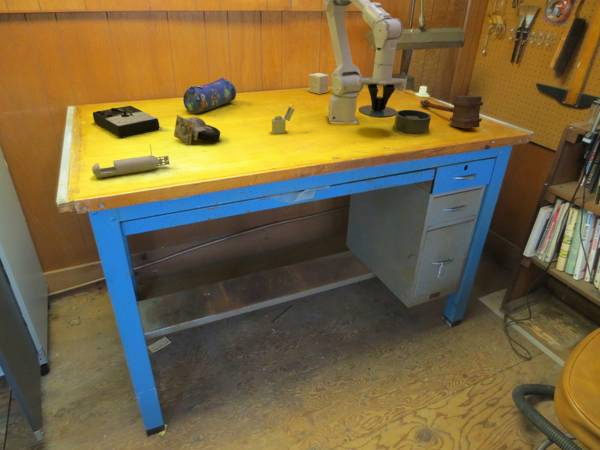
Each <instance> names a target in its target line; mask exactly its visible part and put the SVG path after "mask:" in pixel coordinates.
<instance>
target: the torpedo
mask: <svg viewBox="0 0 600 450" xmlns="http://www.w3.org/2000/svg"><path fill="white" fill-rule="evenodd" d="M149 148H150V149H152V147H151V144H149ZM169 159H170V158H169V155H166V156H165V155H164V156H163V155H162V156H155V155H153V153H152V151H150V155H145V156H138V157H129V158H122V159H121V158H120V159H115V160H112V162H113V166H108V167H102V168H101V167H100V163H99V162H96V163H95V164H93V165H92V167H91V171H92V174H93V176H95V177H96V178H100V179H101V178H102V179H103V178H108V177H113V176H120V175H127V174H133V173H139V172H147V171H152V170H155V169H157V168H158V167H162V166H166V165H170V160H169Z"/></svg>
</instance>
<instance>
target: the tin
mask: <svg viewBox="0 0 600 450" xmlns="http://www.w3.org/2000/svg"><path fill="white" fill-rule="evenodd" d="M396 111H397V114H396V115H395V116H394V124H393V129H394V130H395V131H397V132H399V133H403V134H407V135H425V134H427V133H428V132H429V129H430V125H431V119H432V115H431V114H430V113H428V112H426V111H423V110H416V109H400V110H396ZM405 116H417V117H419V118H420V119H410V118H405Z"/></svg>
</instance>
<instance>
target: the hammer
mask: <svg viewBox="0 0 600 450" xmlns="http://www.w3.org/2000/svg"><path fill="white" fill-rule="evenodd" d="M453 98H454V101H452V102H451V105H452V106H453V107H451V106H450V107H449V106H445V105H440V104H436V103H432V102H431V101H430V100H428V99H424V100H422V99H421V100H420V106H422V108H429V109H435V110H439V111H443V112H449V113H452V116H450V117H449V122H450V124H449V126H450V127H455V128H461V129H473V128H474V129H475V128H476V129H477V128H480V123H482V121H483V118H480V111H481V106H483V105H484V101H483V102H482V99H483V96H480V95H479V96H478V95H454V97H453Z"/></svg>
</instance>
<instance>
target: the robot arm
mask: <svg viewBox="0 0 600 450" xmlns="http://www.w3.org/2000/svg"><path fill="white" fill-rule="evenodd" d="M323 4H324V10H325V15H326V19H327V26H328V29H329V34H330V39H331V40H330V41H331V45H332V50H333V55H334V61H335V65H336V67H335V69H334V70H333V71H332V73H331V74H330V76H331V91H332V93H333V94H331V95H329V99H328V109H327V111H328V112H327V118H328V121H329V123H331V124H358V121H357V119H356V113H357V104H358V97H359V96H360V93H361V92H362V91H363V89H364V86H367V89H368V93H369V97H370V101H371V102H370V103H371V105H372V109H373V110H375V108H376V98H377V96H378V94H379V88H378V86H380V87H381V86H382V97H383V105H382V110H385V107H387V104H388V101H389V100H390V98H391V96H392V95H393V94H394V92H395V89H396V87H403V88H405V87H406V84H407V83H406V82H407V79H405V78H397V77H393V72H394V64H395V56H396V51H397V43H398V40H400V38H401V37H402V35H403V31H404V26H403V22H402V21H401V19H400V18H397V17H394V18H393V17H391V14H390V13H389V12H387V11H386V10H384V8H382V4H381V3H380V2H376V1H375V2H371V1H370V0H323ZM351 5H354V6H355V8H357V9H358V10H359V11H360V12H361V13H362V15H361V16H362V20H363V21H364V22H365V23H366V24H367V25H368V26H369V27H370V28H371V29H372V31H373V37H374V46H375V54H374V61H373V63H374V64H373V70H372V76H368V77H363V76H362V74H361V70H360V68H359V67H358V66H356V65H355V64H354V63H353V62H354V61H353V58H352V57H353V56H352V53H351V47H350V42H349V37H348V32H347V31H348V30H347V27H346V26H347V25H346V20H345V15H344V14H345V12H347V11H348V10H349V9H350V7H351Z"/></svg>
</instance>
